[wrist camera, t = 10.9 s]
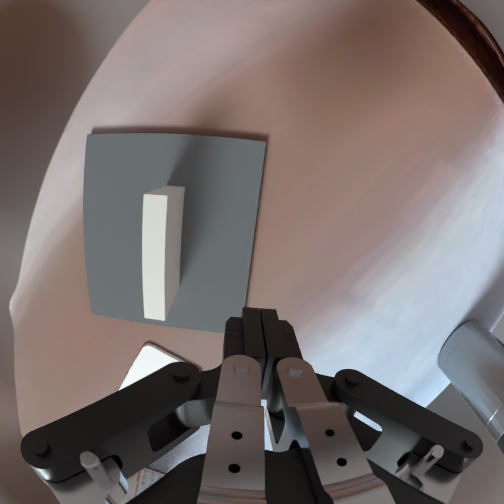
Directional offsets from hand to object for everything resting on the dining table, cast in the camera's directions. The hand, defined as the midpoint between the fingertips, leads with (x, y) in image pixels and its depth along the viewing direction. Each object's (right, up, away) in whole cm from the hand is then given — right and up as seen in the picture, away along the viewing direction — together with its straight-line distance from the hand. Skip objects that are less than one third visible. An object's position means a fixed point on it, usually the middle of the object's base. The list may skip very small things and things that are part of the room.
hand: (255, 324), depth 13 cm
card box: (-7, +5, +11) cm, 14 cm away
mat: (-8, +5, +11) cm, 15 cm away
